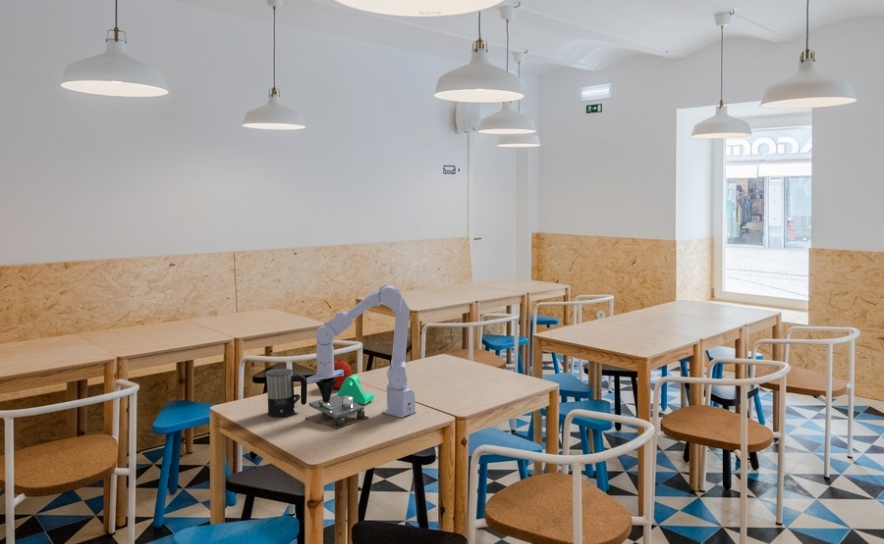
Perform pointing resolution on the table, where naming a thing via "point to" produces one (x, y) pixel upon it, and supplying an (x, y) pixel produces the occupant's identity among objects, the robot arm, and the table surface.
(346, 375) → the apple
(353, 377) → the camera mount
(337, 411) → the level plate
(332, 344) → the robot arm
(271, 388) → the milk frother
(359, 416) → the stand base
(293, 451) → the table surface
